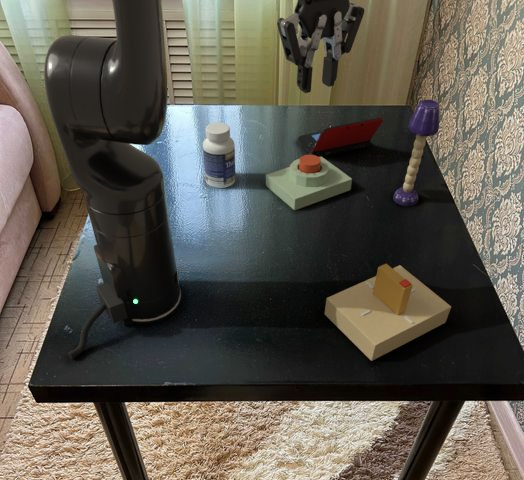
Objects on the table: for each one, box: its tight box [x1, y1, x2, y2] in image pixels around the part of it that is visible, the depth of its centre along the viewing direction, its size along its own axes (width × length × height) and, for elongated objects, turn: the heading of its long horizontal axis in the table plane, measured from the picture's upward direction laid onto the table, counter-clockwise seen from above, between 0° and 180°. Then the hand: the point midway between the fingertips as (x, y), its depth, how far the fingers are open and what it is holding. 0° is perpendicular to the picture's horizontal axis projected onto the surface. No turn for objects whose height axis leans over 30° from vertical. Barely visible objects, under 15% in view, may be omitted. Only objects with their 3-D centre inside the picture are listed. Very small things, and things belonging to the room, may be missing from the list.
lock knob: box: [373, 263, 413, 315], centre depth 69 cm, size 5×1×5 cm, turn 32°
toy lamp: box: [392, 99, 440, 207], centre depth 86 cm, size 5×5×17 cm
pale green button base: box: [265, 156, 353, 211], centre depth 93 cm, size 12×9×4 cm
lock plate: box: [324, 265, 452, 362], centre depth 72 cm, size 13×10×3 cm
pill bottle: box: [202, 122, 236, 189], centre depth 92 cm, size 5×5×10 cm
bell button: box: [299, 154, 321, 174], centre depth 91 cm, size 4×4×2 cm
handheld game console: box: [297, 117, 384, 157], centre depth 101 cm, size 12×11×7 cm
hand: (316, 87), depth 82 cm, fingers open, 3 cm apart
